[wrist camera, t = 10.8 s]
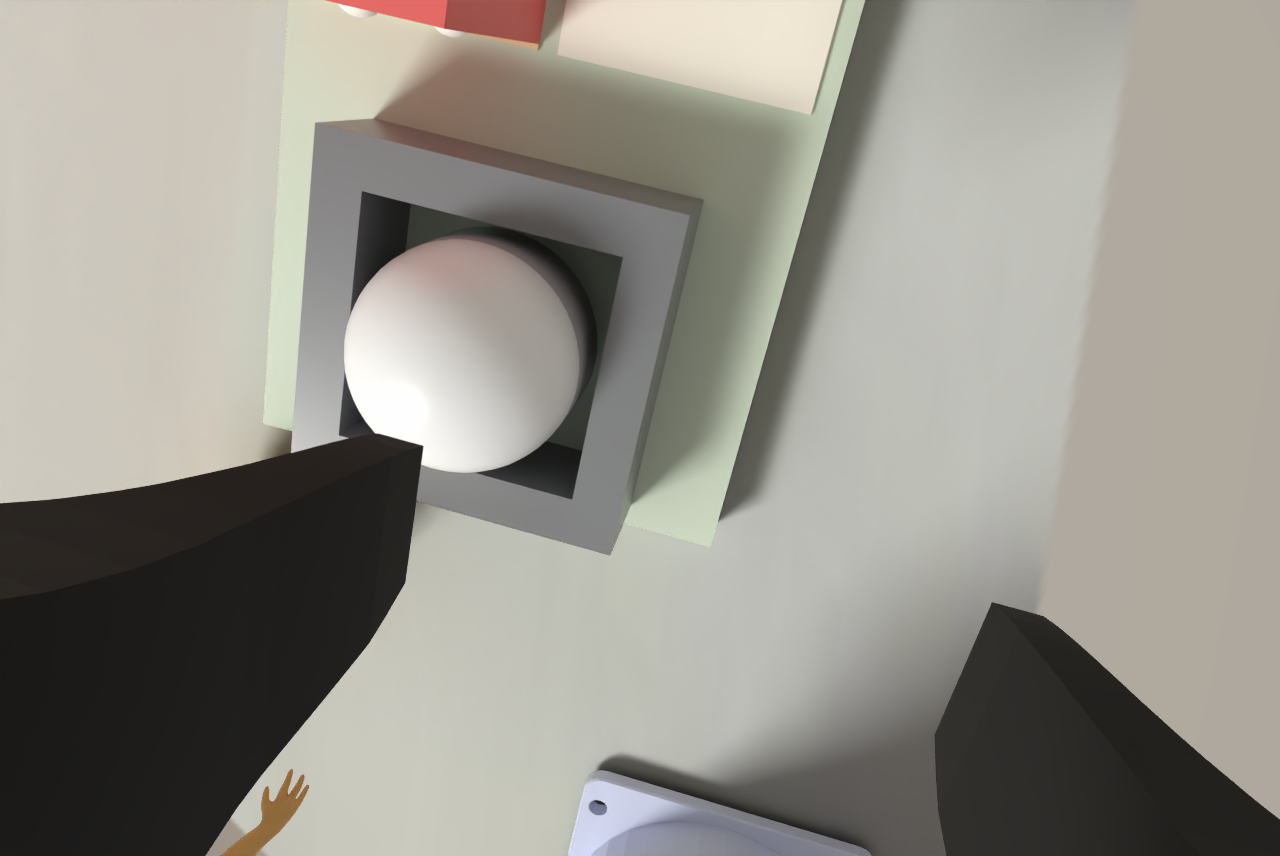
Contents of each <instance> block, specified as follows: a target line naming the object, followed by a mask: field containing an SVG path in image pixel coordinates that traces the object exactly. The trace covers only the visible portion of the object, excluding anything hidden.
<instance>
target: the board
mask: <svg viewBox="0 0 1280 856" xmlns="http://www.w3.org/2000/svg"><path fill="white" fill-rule="evenodd" d="M864 3H865V0H546V6H545V12H544V19H543V25H542V31H541V37H540V44H534V43H528V42H522V41H516V40H510V39H504V38H498V37H492V36H486V35H480V34H474V33H468V34H466V35H464V36H461V37H449V36H446V35H444V34H442V33H440V32H439V31H438V30H437V29H436V28H435V27H434V26H431V25H426V24H422V23H418V22H414V21H410V20H405V19H401V18H397V17H393V16H388V15H384V14H380V13H377V14H376V15H374V16H371V17H367V18H359V17H355V16H352V15H350V14H348V13H347V12H345V11H344V10H343V9H342V8H341V7H340V6H339V4H338V3H334V2H329V1H325V0H288V13H287V30H286V47H285V64H284V81H283V97H282V114H281V131H280V148H279V164H278V181H277V198H276V215H275V232H274V248H273V265H272V282H271V299H270V316H269V332H268V349H267V366H266V383H265V400H264V416H263V424H267V425H270V426H274V427H277V428H281V429H285V430H288V431H292V430H293V416H294V403H295V389H296V375H297V362H298V348H299V335H300V321H301V307H302V294H303V280H304V266H305V253H306V239H307V226H308V212H309V198H310V185H311V171H312V157H313V144H314V130H315V122H330V121H344V120H358V119H372V118H374V119H378V120H382V121H386V122H390V123H394V124H398V125H402V126H406V127H410V128H415V129H419V130H423V131H427V132H431V133H435V134H439V135H443V136H447V137H451V138H455V139H459V140H463V141H467V142H471V143H475V144H479V145H484V146H488V147H492V148H496V149H500V150H504V151H508V152H512V153H516V154H520V155H524V156H528V157H532V158H536V159H540V160H544V161H548V162H553V163H557V164H561V165H565V166H569V167H573V168H577V169H581V170H585V171H589V172H593V173H597V174H601V175H605V176H609V177H613V178H617V179H622V180H626V181H630V182H634V183H638V184H642V185H646V186H650V187H654V188H658V189H662V190H666V191H670V192H674V193H678V194H682V195H686V196H691V197H695V198H699V199H703V200H704V202H703V206H702V210H701V214H700V218H699V222H698V227H697V231H696V235H695V239H694V243H693V248H692V252H691V256H690V260H689V264H688V269H687V273H686V277H685V281H684V285H683V290H682V294H681V298H680V302H679V306H678V310H677V315H676V319H675V323H674V327H673V331H672V336H671V340H670V344H669V348H668V352H667V357H666V361H665V365H664V369H663V373H662V377H661V382H660V386H659V390H658V394H657V398H656V403H655V407H654V411H653V415H652V419H651V424H650V428H649V432H648V436H647V440H646V444H645V449H644V453H643V457H642V461H641V465H640V470H639V474H638V478H637V482H636V486H635V491H634V495H633V499H632V503H631V506H630V509H629V511H628V514H627V516H626V519H625V521H624V524H628V525H631V526H635V527H638V528H642V529H646V530H649V531H653V532H656V533H660V534H664V535H667V536H671V537H674V538H678V539H682V540H685V541H689V542H693V543H696V544H700V545H703V546H707V547H711V544H712V541H713V537H714V534H715V530H716V527H717V523H718V519H719V516H720V512H721V509H722V505H723V502H724V498H725V495H726V491H727V488H728V484H729V481H730V477H731V473H732V470H733V466H734V463H735V459H736V456H737V452H738V449H739V445H740V442H741V438H742V435H743V431H744V427H745V424H746V420H747V417H748V413H749V410H750V406H751V403H752V399H753V396H754V392H755V389H756V385H757V381H758V378H759V374H760V371H761V367H762V364H763V360H764V357H765V353H766V350H767V346H768V343H769V339H770V335H771V332H772V328H773V325H774V321H775V318H776V314H777V311H778V307H779V304H780V300H781V297H782V293H783V290H784V286H785V282H786V279H787V275H788V272H789V268H790V265H791V261H792V258H793V254H794V251H795V247H796V244H797V240H798V236H799V233H800V229H801V226H802V222H803V219H804V215H805V212H806V208H807V205H808V201H809V198H810V194H811V190H812V187H813V183H814V180H815V176H816V173H817V169H818V166H819V162H820V159H821V155H822V152H823V148H824V144H825V141H826V137H827V134H828V130H829V127H830V123H831V120H832V116H833V113H834V109H835V106H836V102H837V98H838V95H839V91H840V88H841V84H842V81H843V77H844V74H845V70H846V67H847V63H848V60H849V56H850V53H851V49H852V45H853V42H854V38H855V35H856V31H857V28H858V24H859V21H860V17H861V14H862V10H863V7H864ZM471 227H498V228H503V229H509V230H512V231H515V232H518V233H521V234H524V235H526V236H528V237H530V238H533V239H535V240H537V241H538V242H540V243H541V244H543V245H545V246H546V247H548V248H549V249H550V250H552V251H553V252H554V253H555V254H556V255H558V256H559V257H560V258H561V259H562V260H563V261H564V262H565V263H566V264H567V265H568V266H569V267H570V269H571V270H572V271H573V273H574V274H575V275H576V277H577V278H578V279H579V281H580V283H581V284H582V286H583V288H584V290H585V292H586V293H587V296H588V298H589V301H590V303H591V306H592V309H593V313H594V316H595V320H596V327H597V356H596V363H595V366H594V370H593V373H592V376H591V378H590V381H589V383H588V385H587V387H586V389H585V391H584V392H583V394H582V395H581V397H580V399H579V400H578V401H577V403H576V404H575V405H574V407H573V408H572V410H571V411H570V412H569V414H568V415H567V417H566V418H565V419H564V421H563V422H562V423H561V425H560V426H559V427H558V428H557V430H556V431H555V432H554V433H553V434H552V435H551V436H550V437H549V438H548V439H547V440H546V441H548V442H552V443H555V444H559V445H563V446H566V447H570V448H574V449H577V450H581V451H583V446H584V441H585V436H586V432H587V427H588V422H589V417H590V413H591V408H592V403H593V398H594V394H595V389H596V384H597V379H598V375H599V370H600V365H601V360H602V355H603V351H604V346H605V341H606V336H607V332H608V327H609V322H610V317H611V313H612V308H613V303H614V298H615V294H616V289H617V284H618V279H619V274H620V270H621V265H622V260H623V257H620V256H616V255H612V254H608V253H604V252H600V251H596V250H592V249H588V248H585V247H581V246H577V245H573V244H569V243H565V242H561V241H557V240H553V239H549V238H545V237H541V236H537V235H533V234H529V233H525V232H521V231H517V230H513V229H510V228H506V227H502V226H498V225H494V224H490V223H486V222H482V221H478V220H474V219H470V218H466V217H462V216H458V215H454V214H450V213H446V212H442V211H438V210H435V209H431V208H427V207H423V206H419V205H415V204H411V207H410V216H409V224H408V233H407V242H406V250H405V252H406V251H408V250H409V249H412V248H414V247H416V246H419V245H421V244H424V243H426V242H429V241H431V240H434V239H436V238H438V237H441V236H443V235H446V234H448V233H451V232H453V231H457V230H461V229H465V228H471Z"/></svg>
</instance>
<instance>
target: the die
mask: <svg viewBox="0 0 1280 856" xmlns="http://www.w3.org/2000/svg"><path fill="white" fill-rule="evenodd" d="M325 1H329V2H334V3H338V4H339V6H340V7H341V8H342V9H343V10H344V11H345V12H347V13H348V14H350V15H352V16H355V17H359V18H367V17H371V16H374V15H376V14H377V13H380V14H384V15H388V16H393V17H397V18H401V19H405V20H410V21H414V22H418V23H422V24H426V25H431V26H434V27H435V28H436V29H437V30H438V31H439V32H440V33H442V34H444V35H446V36H449V37H461V36H464V35H466V34H468V33H474V34H480V35H486V36H492V37H498V38H504V39H510V40H516V41H522V42H528V43H534V44H540V37H541V31H542V25H543V19H544V12H545V6H546V0H325Z"/></svg>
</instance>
